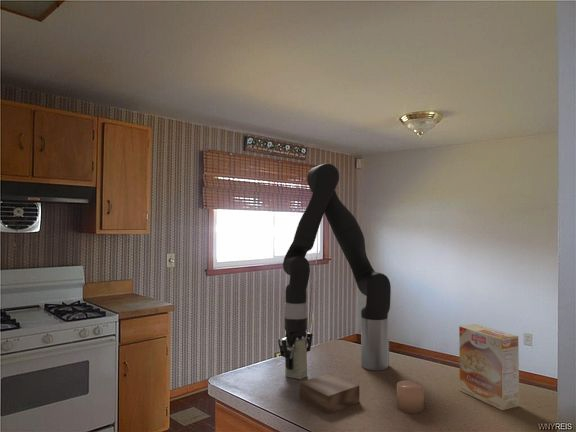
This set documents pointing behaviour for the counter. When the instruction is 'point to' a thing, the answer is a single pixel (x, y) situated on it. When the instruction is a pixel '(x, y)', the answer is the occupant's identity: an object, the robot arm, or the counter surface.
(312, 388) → the walnut block
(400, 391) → the pink rounded knob
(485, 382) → the coffeecake box
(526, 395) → the counter surface
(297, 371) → the skincare box
